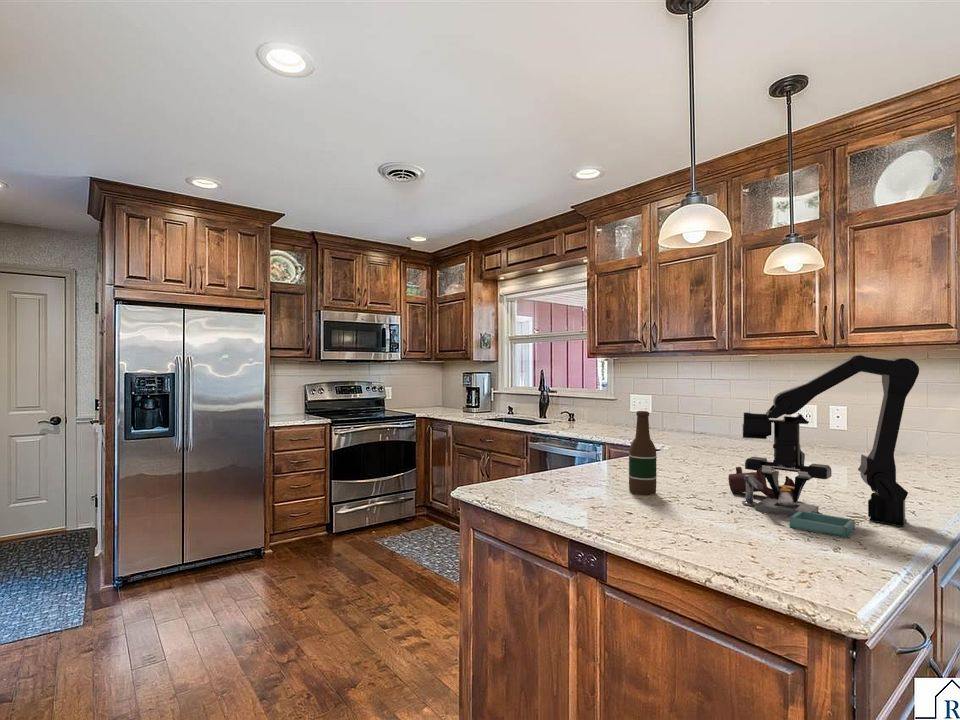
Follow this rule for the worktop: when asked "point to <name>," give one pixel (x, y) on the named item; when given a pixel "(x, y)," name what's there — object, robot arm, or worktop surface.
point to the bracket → (739, 486)
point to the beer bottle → (642, 459)
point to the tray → (822, 524)
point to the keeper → (753, 481)
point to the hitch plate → (775, 504)
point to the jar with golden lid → (786, 496)
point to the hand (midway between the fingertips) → (786, 500)
